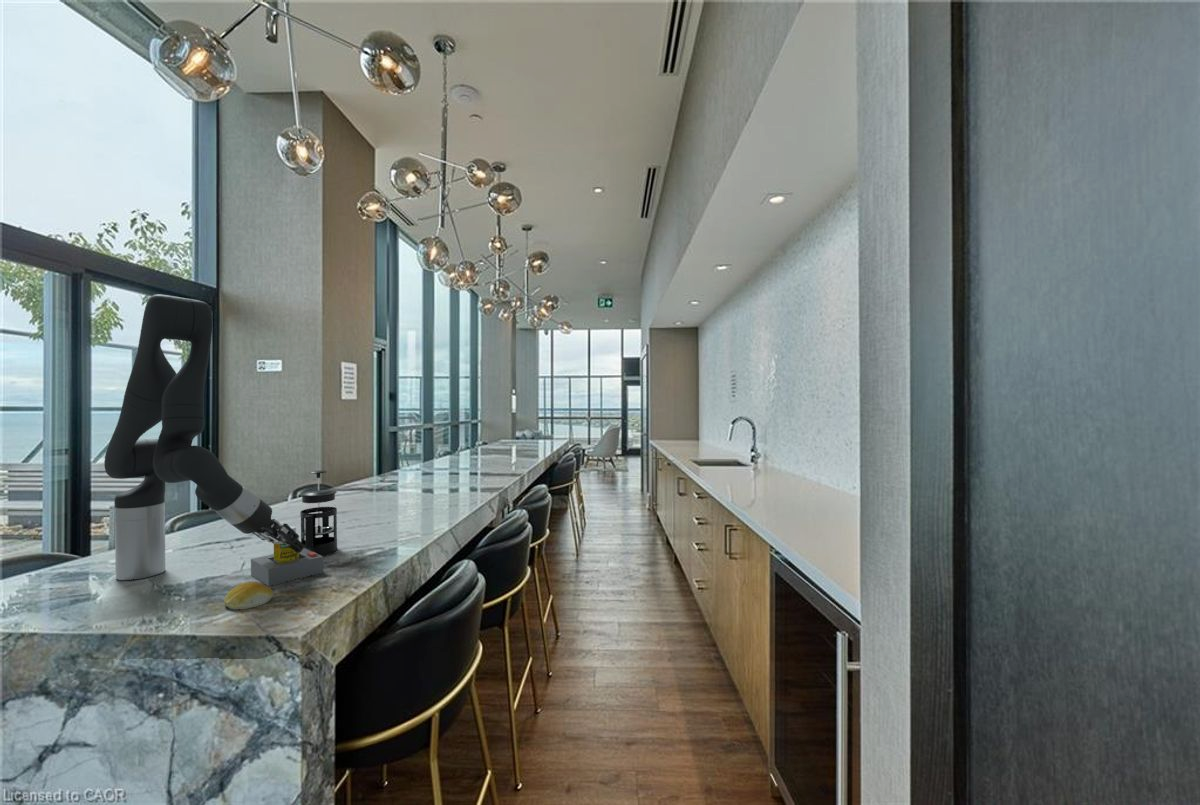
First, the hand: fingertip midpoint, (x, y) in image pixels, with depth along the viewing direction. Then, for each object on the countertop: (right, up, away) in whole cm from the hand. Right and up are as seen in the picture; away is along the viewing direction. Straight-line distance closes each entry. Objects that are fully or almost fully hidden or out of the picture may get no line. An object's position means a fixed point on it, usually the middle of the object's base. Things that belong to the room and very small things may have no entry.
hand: (293, 547), depth 129 cm
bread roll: (+2, -7, -19) cm, 20 cm away
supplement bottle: (-1, -4, -2) cm, 5 cm away
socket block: (-1, -6, -1) cm, 6 cm away
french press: (-2, -6, +15) cm, 17 cm away
